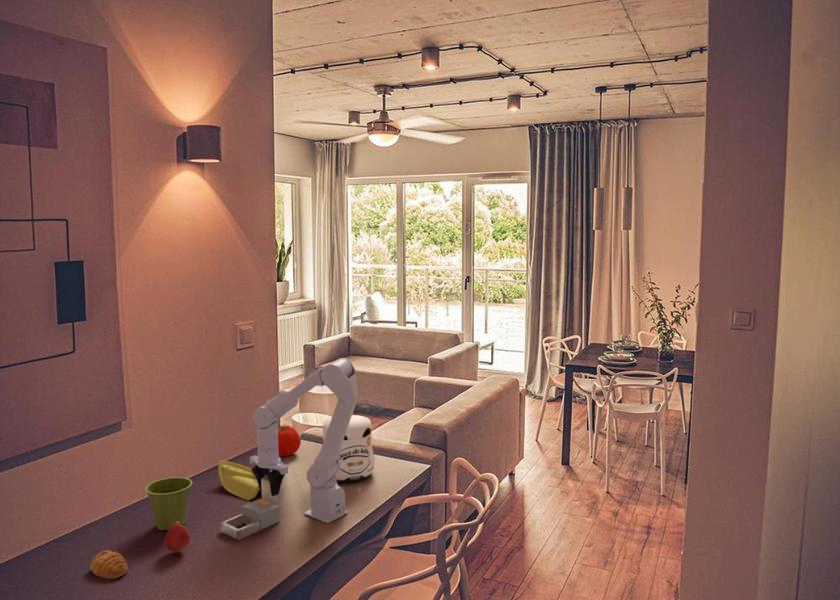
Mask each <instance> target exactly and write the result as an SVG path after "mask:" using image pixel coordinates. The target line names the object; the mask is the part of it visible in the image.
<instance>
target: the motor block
mask: <svg viewBox="0 0 840 600" xmlns="http://www.w3.org/2000/svg"><path fill="white" fill-rule="evenodd" d="M241 507H242V509H241V510H242V513H244V514H246V515H248V516H251V517H253V518H255V519H257V520H260V521H261V529H262V528H265V527H267V526H269V525H271V524H273V523H276V522H278V521H279V522H280V505H277V504H274V503H273V502H270V501H267V500H265V499H263V500H262V498H258V499H256V500H253V501H250V502H249V503H248V502H247V503H246V504H244V505H242V506H241ZM279 522H278V523H279ZM276 524H277V523H276ZM267 528H268V527H267ZM265 529H266V528H265Z"/></svg>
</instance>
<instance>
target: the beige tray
mask: <svg viewBox="0 0 840 600" xmlns="http://www.w3.org/2000/svg"><path fill="white" fill-rule="evenodd" d="M242 523H247V524H249V525H247V524H246V525H245V526H243V527H240V528H237V527H238V525H239V526H241V525H243V524H242ZM219 524H220V526H219V527H220V533H221V534H224V533H225V534H224V535H226V534H227V535H226V536H228V535H229V537H230V536H231V537H230V538H232V537H233V538H232V539H234V538H235V540H236V539H237V541H241V540H243V539H244V538H243V537H245V536H247V535H249V534H251V533H253V532H255V531H257V530H260V529H261V521H260V520H257V519H255V518H253V517H251V516H248V515H246V514H244V513H243V512H242V513H240V514H238V515H236V516H234V517H230V518H229V519H227V520H224V521H222V522H220V523H219ZM240 524H241V525H240ZM236 526H237V527H236ZM260 531H261V530H260ZM251 535H252V534H251ZM249 536H250V535H249ZM247 537H248V536H247ZM242 538H243V539H242ZM245 538H246V537H245ZM240 539H241V540H240Z"/></svg>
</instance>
